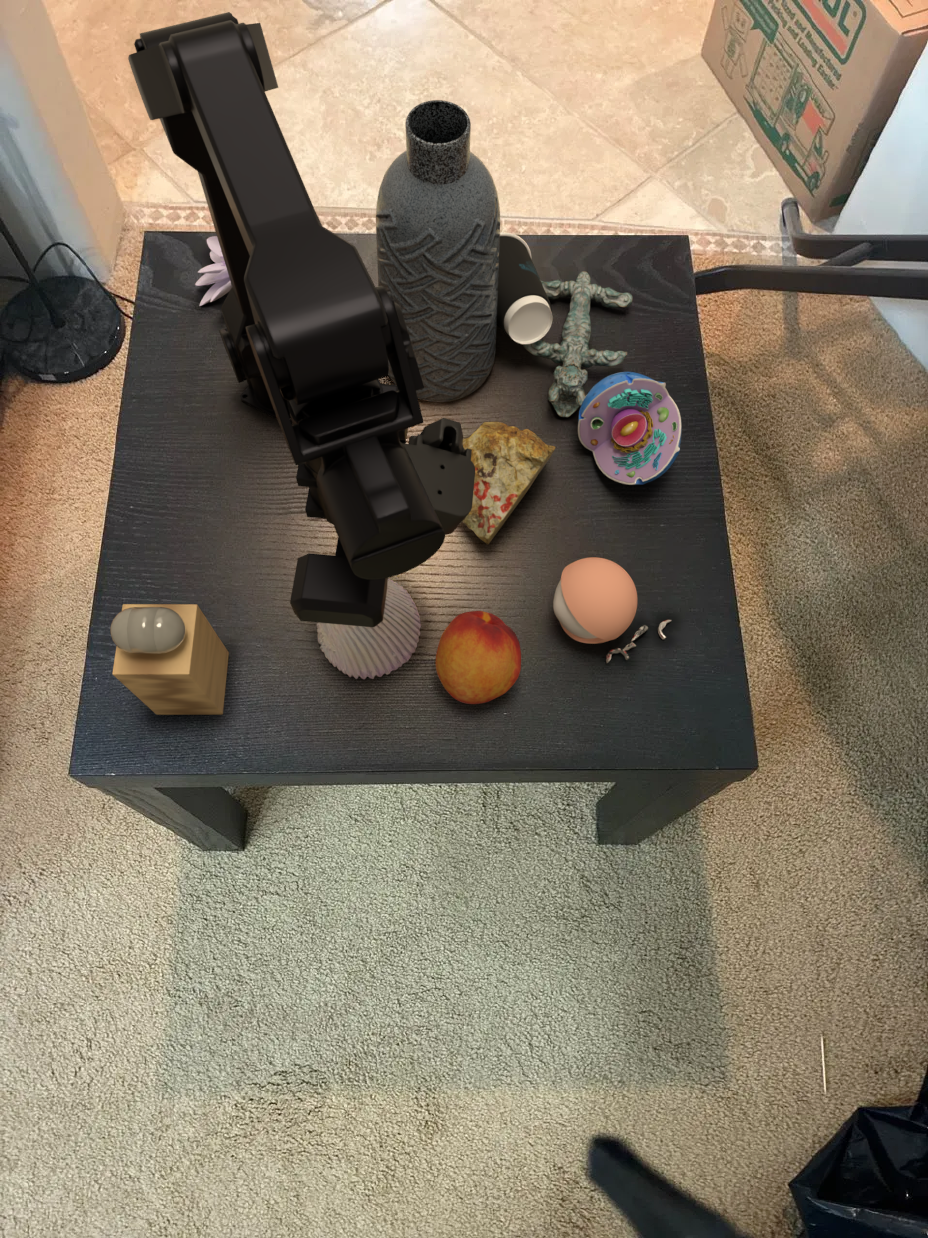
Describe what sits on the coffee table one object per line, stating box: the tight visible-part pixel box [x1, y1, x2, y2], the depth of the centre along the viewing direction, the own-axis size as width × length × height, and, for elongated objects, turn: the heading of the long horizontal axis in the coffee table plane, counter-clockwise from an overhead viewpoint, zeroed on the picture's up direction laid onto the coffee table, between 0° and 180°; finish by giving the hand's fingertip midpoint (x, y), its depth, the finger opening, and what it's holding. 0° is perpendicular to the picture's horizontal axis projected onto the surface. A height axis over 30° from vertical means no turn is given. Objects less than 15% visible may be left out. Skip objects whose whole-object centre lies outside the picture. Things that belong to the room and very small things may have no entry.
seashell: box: [316, 577, 422, 680], centre depth 81 cm, size 10×6×10 cm
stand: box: [112, 603, 230, 716], centre depth 75 cm, size 6×6×12 cm
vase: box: [375, 99, 501, 403], centre depth 81 cm, size 12×12×28 cm
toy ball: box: [552, 556, 638, 645], centre depth 80 cm, size 8×8×8 cm
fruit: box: [434, 610, 522, 705], centre depth 77 cm, size 8×8×8 cm
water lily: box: [194, 235, 232, 307], centre depth 95 cm, size 15×15×9 cm
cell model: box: [577, 371, 683, 486], centre depth 86 cm, size 10×12×10 cm
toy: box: [605, 619, 672, 664], centre depth 82 cm, size 1×8×2 cm
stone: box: [109, 607, 186, 654], centre depth 68 cm, size 6×4×4 cm, turn 91°
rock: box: [461, 421, 557, 546], centre depth 86 cm, size 12×9×10 cm
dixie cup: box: [497, 231, 554, 345], centre depth 91 cm, size 8×8×11 cm
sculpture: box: [522, 270, 633, 418], centre depth 94 cm, size 11×20×5 cm, turn 171°
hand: (363, 551), depth 70 cm, fingers open, 9 cm apart
